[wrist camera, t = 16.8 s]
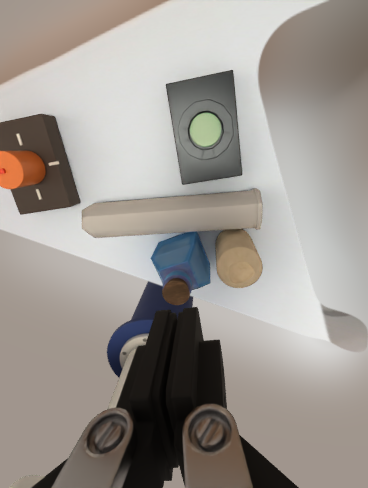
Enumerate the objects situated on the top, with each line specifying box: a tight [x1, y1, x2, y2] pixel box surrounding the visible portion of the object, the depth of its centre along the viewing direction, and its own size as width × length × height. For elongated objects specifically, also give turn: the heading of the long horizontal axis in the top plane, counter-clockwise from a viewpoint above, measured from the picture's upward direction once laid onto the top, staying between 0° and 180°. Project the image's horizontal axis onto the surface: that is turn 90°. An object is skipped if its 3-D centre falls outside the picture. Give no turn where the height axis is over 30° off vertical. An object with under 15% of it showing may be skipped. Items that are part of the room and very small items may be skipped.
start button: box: [190, 113, 221, 147], centre depth 30 cm, size 4×4×2 cm
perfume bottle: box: [151, 231, 210, 305], centre depth 35 cm, size 6×6×12 cm
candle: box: [215, 229, 263, 288], centre depth 35 cm, size 6×6×10 cm
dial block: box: [0, 114, 80, 214], centre depth 36 cm, size 12×9×3 cm
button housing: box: [166, 70, 242, 185], centre depth 33 cm, size 12×8×4 cm, turn 9°
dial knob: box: [0, 151, 45, 189], centre depth 33 cm, size 4×4×5 cm
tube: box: [82, 188, 262, 238], centre depth 36 cm, size 5×5×25 cm
